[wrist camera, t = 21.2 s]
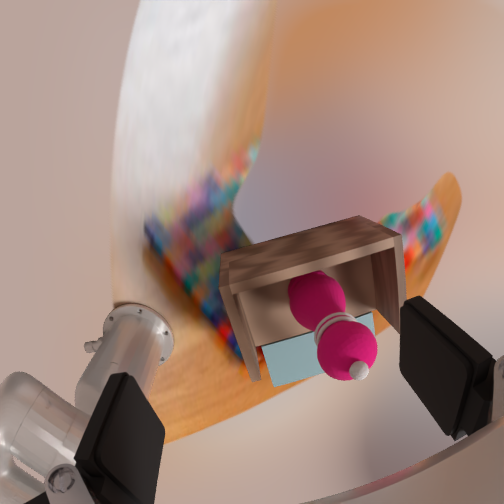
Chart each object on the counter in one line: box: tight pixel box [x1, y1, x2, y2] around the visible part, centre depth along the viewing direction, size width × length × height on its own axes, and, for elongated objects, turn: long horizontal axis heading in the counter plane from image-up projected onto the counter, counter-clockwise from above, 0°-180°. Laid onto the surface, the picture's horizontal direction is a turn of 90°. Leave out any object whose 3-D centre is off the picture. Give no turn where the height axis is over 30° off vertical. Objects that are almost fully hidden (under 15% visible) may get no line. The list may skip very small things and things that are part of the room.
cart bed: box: [219, 216, 406, 382], centre depth 42 cm, size 22×14×13 cm, turn 105°
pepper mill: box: [288, 270, 377, 381], centre depth 33 cm, size 7×7×20 cm
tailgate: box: [261, 311, 375, 387], centre depth 47 cm, size 18×2×8 cm
